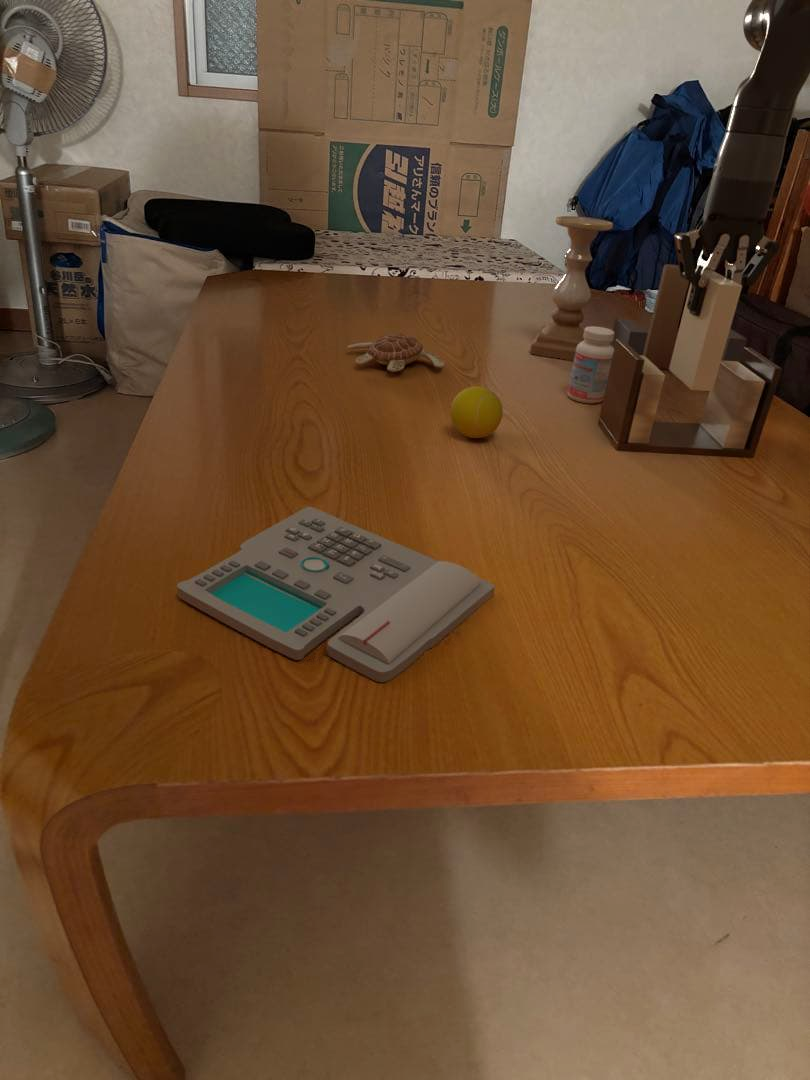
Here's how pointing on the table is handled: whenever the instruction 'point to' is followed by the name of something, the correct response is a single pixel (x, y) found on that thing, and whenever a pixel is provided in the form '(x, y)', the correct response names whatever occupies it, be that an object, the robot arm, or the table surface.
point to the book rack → (722, 431)
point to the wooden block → (666, 317)
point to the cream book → (705, 334)
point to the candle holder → (570, 291)
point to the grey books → (638, 336)
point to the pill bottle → (591, 366)
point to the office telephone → (337, 594)
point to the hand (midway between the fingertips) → (707, 314)
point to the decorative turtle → (395, 351)
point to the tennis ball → (476, 412)
